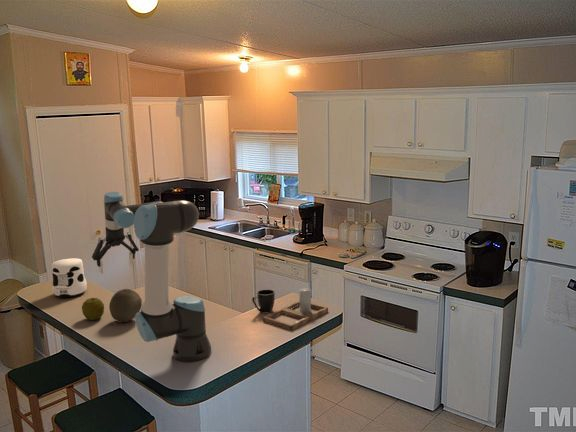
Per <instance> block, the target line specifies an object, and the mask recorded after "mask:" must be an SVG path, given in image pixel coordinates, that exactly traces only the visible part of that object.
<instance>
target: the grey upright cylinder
mask: <svg viewBox="0 0 576 432" xmlns="http://www.w3.org/2000/svg"><path fill="white" fill-rule="evenodd" d="M298 298H299V299H298V301H299V306H298V307H299V312H302V313H305V314H307V313H310V314H311V313H312V308H311V303H312V290H311V288H307V287H305V288H304V287H302V288H299V289H298Z"/></svg>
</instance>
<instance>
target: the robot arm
mask: <svg viewBox="0 0 576 432" xmlns="http://www.w3.org/2000/svg"><path fill="white" fill-rule="evenodd" d="M103 206H104V223H105V224H104V225H105V238H101V237H98V241H97V244H96V246H95V249H94V251H93V253H92V255H91V258H92V259H93V261H96V265H97V266H98V269H99V272H100V273H101V275H102V274H104V267H103V265H104V264H103V258H104V256H105V254H107V252H108V250H109V249H111V248H114V247H118V246H120V245H122V246H123V247H124V248H126V250H129V251H128V262H129V265H130V267H131V268H132V267H133V266H134V260H135V258H136V257H135V255H136V252H138V251H140V250H139V247H138V245H137V244H136V243H135V241H134V240H133V237H132V234H131V233H130V232H126V233H125V229H128V228H131V227H132V226H133V228H134V234H135V236H136V238H137V239H139V240H140V243H141V244H142V245H144V301H143V302H142V305H141V309H140V311H139V312H138V313H136V315H135V317H134V320H135V324H136V329H137V331H138V333H139V335H140V337H141V339H142V340H143V341H144V342H147V343H150V342H153V341H154V342H155V341H156V342H157V341H158V340H161V339H162V340H163V339H164V338H168V337H172V336H174V335H176V337H175V342H174V345H173V349H172V356H173V358H174V359H175V360H177V361H180V362H186V363H191V362H192V363H193V362H198V361H202V360H204V359H206V358H208V357H209V356H210V355H211V354H212V345H211V342H210V340H209V337H208V335H207V329H206V328H207V327H206V326H207V325H206V313H205V312H206V309H205V303H204V300H202V299H201V298H200V297H197V296H191V295H183V296H177V297H176V298H174V299H173V303H172V302H171V301H170V300H169V297H170V295H169V294H170V293H169V292H170V289H169V288H170V285H169V284H170V245H171V244H173V242H174V239H175V238H174V237H175V236H174V235H176V234H180V233H181V234H182V233H185V232H188V231H191V229H192V228H194V227H195V226H196V224H197V223H198V221H199V217H200V212H199V209H198V207H197V206H196V204H194V203H193V202H191V201H188V200H181V199H180V200H173V201H165V202H163V201H151V202H143V203H137V204H135V203H134V204H129V205H126V204H125V203H124V198H123V194H122V193H121V192H119V191H109V192H106V193H105V194H104V195H103ZM125 239H126V240H127V239H128V241H129V242H130V244H131V245H132V247H133V248H132V247H131V246H130V245H129V244H128V243H127V242H125V241H124V240H125ZM103 244H104V246H103ZM97 266H96V267H97Z"/></svg>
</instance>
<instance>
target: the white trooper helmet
mask: <svg viewBox="0 0 576 432" xmlns="http://www.w3.org/2000/svg"><path fill="white" fill-rule="evenodd" d="M84 271H85V270H84V262H83V260H82V259H81V258H76V257H75V258H74V257H72V258H64V259H63V258H62V259H59V260H55V261H54V262H52V263H51V274H52V285H51V288H52V289H51V290H52V293H53V295H54V296H56V297H58V298H69V297H70V298H71V297H75V296H79V295H81V294H84V293H85V292H86V291H87V288H88V284H87V283H88V282H87V279H86V277H85V273H84Z"/></svg>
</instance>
